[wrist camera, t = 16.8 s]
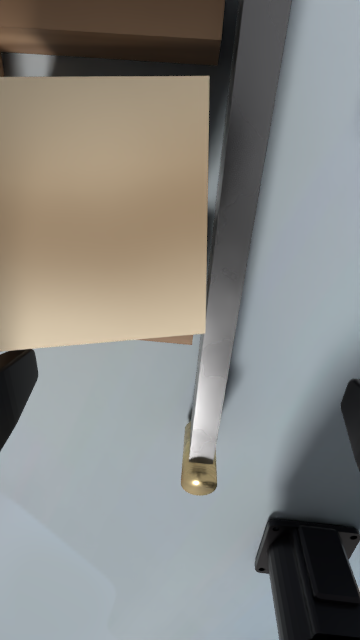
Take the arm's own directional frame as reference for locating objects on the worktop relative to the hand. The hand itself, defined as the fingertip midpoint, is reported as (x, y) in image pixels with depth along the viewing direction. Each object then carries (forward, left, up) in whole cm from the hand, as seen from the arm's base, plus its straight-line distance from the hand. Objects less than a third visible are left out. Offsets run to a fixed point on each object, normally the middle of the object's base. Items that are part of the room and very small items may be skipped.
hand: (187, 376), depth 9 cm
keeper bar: (+1, -1, -7) cm, 7 cm away
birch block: (+4, +4, -7) cm, 9 cm away
